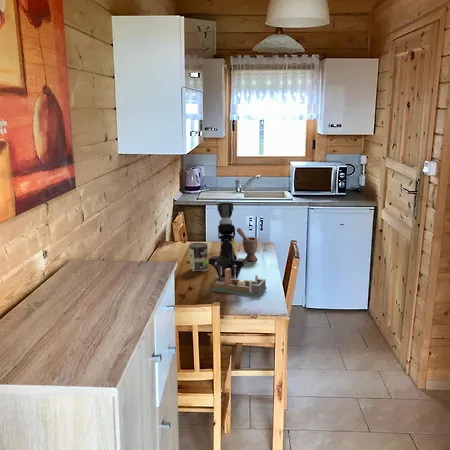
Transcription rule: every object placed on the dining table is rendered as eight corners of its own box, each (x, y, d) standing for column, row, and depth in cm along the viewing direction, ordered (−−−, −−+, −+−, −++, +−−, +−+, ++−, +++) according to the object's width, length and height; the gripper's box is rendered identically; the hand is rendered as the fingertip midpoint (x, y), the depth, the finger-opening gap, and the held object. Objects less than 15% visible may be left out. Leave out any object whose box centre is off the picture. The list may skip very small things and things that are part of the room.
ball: (236, 288, 240) (236, 281, 239) (239, 286, 243) (239, 278, 242) (243, 289, 238) (243, 282, 237) (246, 286, 242) (246, 279, 241)
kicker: (213, 286, 244) (212, 269, 242) (218, 282, 249) (217, 266, 247) (228, 288, 240) (227, 271, 238) (232, 284, 246) (232, 267, 244)
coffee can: (212, 267, 277) (210, 243, 274) (201, 273, 268) (200, 248, 265) (197, 265, 282) (196, 241, 279) (186, 270, 274) (185, 246, 271)
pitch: (213, 290, 241) (212, 277, 240) (222, 283, 251) (221, 270, 249) (258, 296, 232) (258, 282, 230) (266, 288, 241) (266, 274, 240)
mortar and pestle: (242, 264, 280) (241, 230, 276) (236, 260, 288) (235, 227, 283) (260, 260, 285) (259, 227, 280) (253, 257, 292) (252, 224, 288)
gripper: (202, 250, 235) (204, 281, 239) (238, 253, 228) (239, 285, 232) (212, 244, 245) (213, 274, 249) (246, 247, 238) (247, 277, 241)
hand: (228, 277), depth 242 cm, fingers open, 9 cm apart
